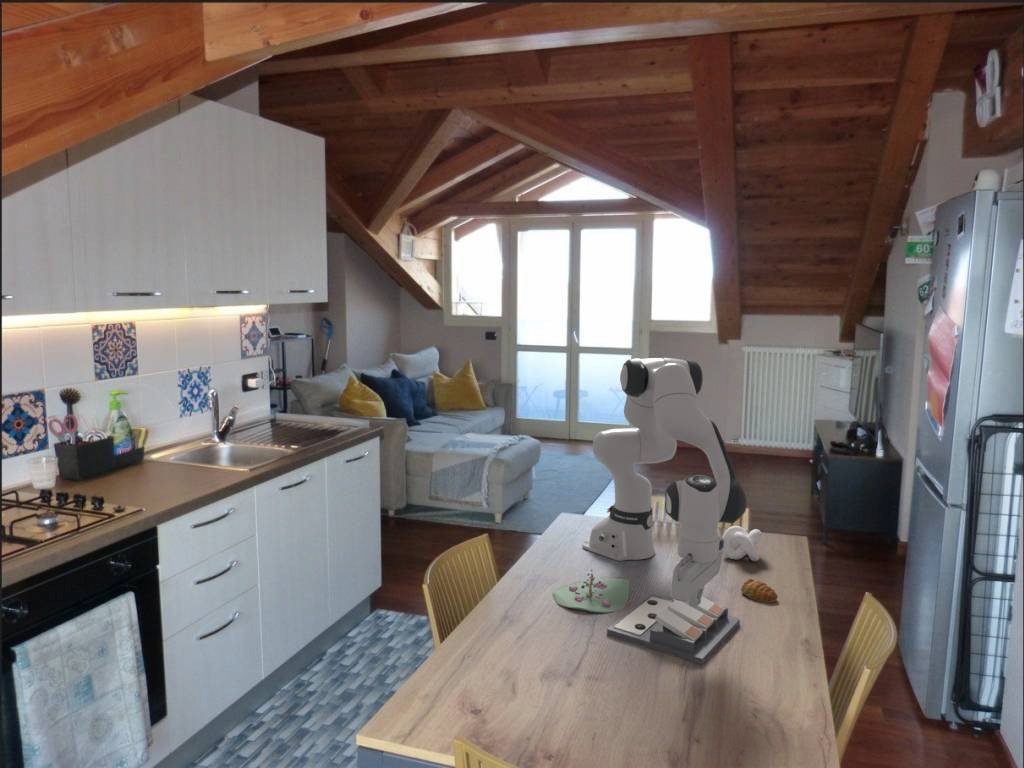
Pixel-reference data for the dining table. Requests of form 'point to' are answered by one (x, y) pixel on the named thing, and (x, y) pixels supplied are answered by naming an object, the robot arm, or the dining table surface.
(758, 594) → the pastry
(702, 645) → the switch unit
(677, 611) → the switch middle
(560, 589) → the plant
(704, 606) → the switch far
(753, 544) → the white knot sculpture
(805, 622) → the dining table surface
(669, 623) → the switch near
